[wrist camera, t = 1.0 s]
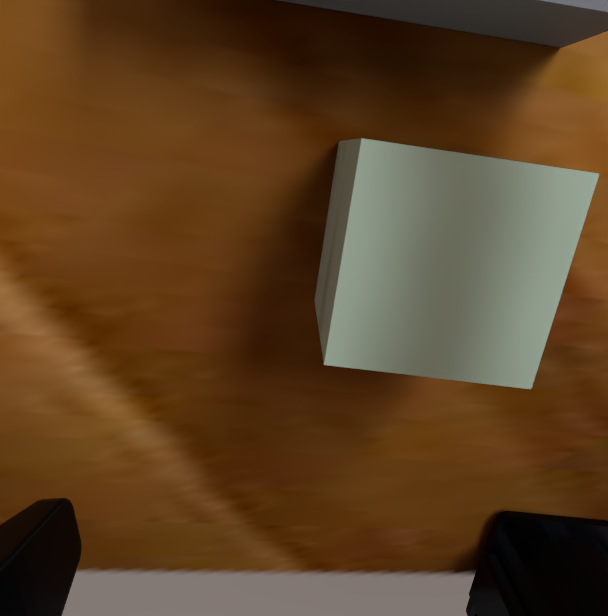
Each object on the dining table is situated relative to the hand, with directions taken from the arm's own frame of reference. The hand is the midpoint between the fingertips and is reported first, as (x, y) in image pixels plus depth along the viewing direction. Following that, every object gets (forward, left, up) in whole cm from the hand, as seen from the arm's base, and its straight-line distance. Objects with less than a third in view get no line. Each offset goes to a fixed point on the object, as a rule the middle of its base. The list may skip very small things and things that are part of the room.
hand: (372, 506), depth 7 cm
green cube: (-3, -2, -12) cm, 13 cm away
